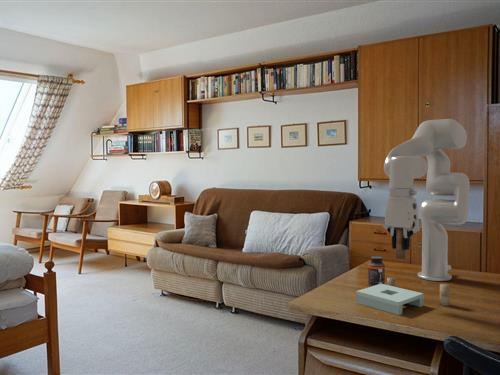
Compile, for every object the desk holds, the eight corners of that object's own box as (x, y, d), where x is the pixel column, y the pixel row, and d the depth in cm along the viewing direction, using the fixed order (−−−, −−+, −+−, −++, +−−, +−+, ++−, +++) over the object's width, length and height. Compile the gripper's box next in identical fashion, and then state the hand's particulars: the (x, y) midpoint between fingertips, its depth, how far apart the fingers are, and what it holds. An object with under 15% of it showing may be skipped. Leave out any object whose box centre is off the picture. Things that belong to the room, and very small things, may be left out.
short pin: (389, 289, 163) (389, 276, 163) (397, 291, 161) (397, 278, 161) (385, 291, 161) (385, 277, 161) (392, 293, 159) (392, 279, 159)
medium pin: (442, 302, 148) (442, 283, 147) (451, 304, 145) (451, 285, 145) (437, 304, 146) (437, 285, 146) (446, 306, 144) (446, 286, 143)
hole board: (381, 294, 158) (381, 283, 157) (423, 305, 145) (423, 293, 145) (356, 302, 149) (356, 291, 149) (398, 315, 136) (398, 302, 136)
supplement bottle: (385, 289, 164) (385, 259, 163) (368, 289, 165) (368, 258, 164) (383, 285, 170) (384, 255, 169) (367, 284, 171) (367, 255, 170)
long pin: (399, 256, 150) (399, 227, 150) (407, 258, 148) (407, 228, 148) (393, 257, 149) (394, 227, 148) (402, 259, 146) (402, 228, 146)
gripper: (430, 194, 144) (429, 251, 144) (386, 192, 156) (385, 244, 157) (418, 195, 139) (417, 253, 140) (373, 193, 151) (372, 247, 152)
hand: (400, 248), depth 148 cm, fingers closed on long pin, 3 cm apart
